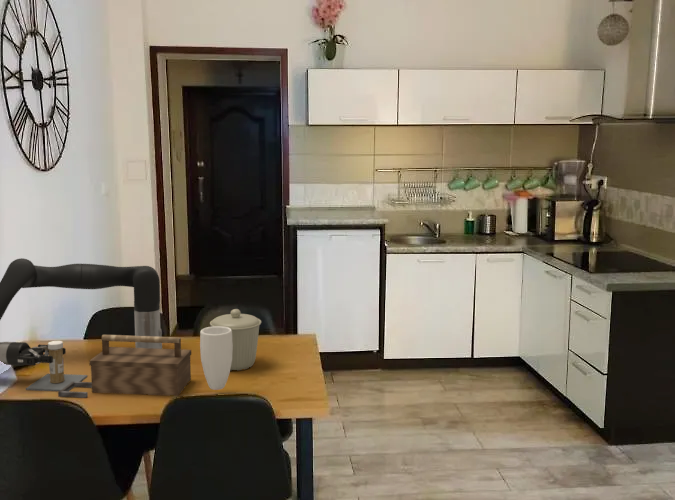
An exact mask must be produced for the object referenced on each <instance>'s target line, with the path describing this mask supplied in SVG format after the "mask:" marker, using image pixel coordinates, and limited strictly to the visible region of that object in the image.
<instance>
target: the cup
mask: <svg viewBox="0 0 675 500" xmlns="http://www.w3.org/2000/svg"><path fill="white" fill-rule="evenodd" d="M199 335H200V337H199V338H200V340H199V347H200V348H199V351H200V361H201V366H202V370H203V371H202V372H203V374H204V378H205V380H206V383H207V385H208V387H209V389H211V390H215V391H218V390H223V389H224V388H225V386H226V384H227V383H228V379H229V375H230V374H231V373H230V372H231V370H230V368H231V363H232V350H233V343H232V330H231V329H230V328H228V327H223V326H213V327H212V326H208V327H207V326H206V327H204V328H201V330H200V333H199Z"/></svg>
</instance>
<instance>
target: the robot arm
mask: <svg viewBox="0 0 675 500" xmlns="http://www.w3.org/2000/svg"><path fill="white" fill-rule="evenodd" d="M160 280H161V279H160V277H159V274H158V272H157V270H156V269H155V268H153V267H152V266H150V265H135V266H114V265H106V264H95V263H71V264H64V265H58V266H41V265H34V263H33V262H32V261H31V260H29V259H27V258H21V257H20V258H17V259H14V260H13V261H11V262H10V263H9V264H8V266H7V268H6V270H5V272H4V275H3V276H2V278H1V280H0V321H1V320H2V318H3V317H4V315H5V312H6V311H7V309H8V307H9V305H10V304H11V303H12V300H13V299H14V297H15V296H16V295H17V294H18V293H19V291H20V290H21V289H27V288H28V289H29V288H47V287H48V288H50V287H51V288H59V289H60V288H63V289H75V290H101V289H108V288H115V287H130V288H133V300H134V301H133V310H134V311H133V313H134V315H133V316H134V336H155V337H163V336H162V334H163V332H162V328H161V307H160V306H161V284H160ZM134 343H135V348H154V349H163V343H149V342H134ZM66 353H67V351H66V348H65V347H63V356H64V355H66ZM0 361H1V362H3V363H4V364H6V366H7V365H8V366H36V365H37V364H38V365H39V364H49V363H52V362H53V357H52V356H49V350H48V344H41V343H40V344H38V345H37V346H33V347H31V346H30V344H29V343H27V342H23V341H22V342H21V341H0Z"/></svg>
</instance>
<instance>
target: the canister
mask: <svg viewBox="0 0 675 500" xmlns="http://www.w3.org/2000/svg"><path fill="white" fill-rule="evenodd" d="M261 324H262V320H261V319H260V318H258V317H256V316H255V315H252V314H247V313H242V312H241V310H240V309H238V308H234V309H231V310H230V313H227V314H222V315H219V316H217V317H215V318H214V319H212V320H211V321H210V322H209V325H210V327H213V326H223V327H228V328H230V329H231V330H232V343H233V350H232V363H231V368H230V371H232V370H237V371H243V370H242V369H244V370H247V369H249V367H250V368H251V367H252V366H253V365H254V364H255V361H256V358H257V351H258V350H257V349H258V343H259V342H258V341H259V330H260V325H261Z"/></svg>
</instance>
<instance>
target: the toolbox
mask: <svg viewBox="0 0 675 500" xmlns="http://www.w3.org/2000/svg"><path fill="white" fill-rule="evenodd" d="M181 340H182V339H181V337H179V336H162V337H155V336H135V335H125V334H123V335H122V334H102V335H101V346H102V347H101V349H102V351H100V352H99V353H98V354H96V355H95V356H94V357H92V358H90V360H89V363H88V364H89V366H90V374H91V375H90V376H91V381H81V382H73V381H72V382H71V383H70V384H68V385H67V386H66V387H64V388H63V389H62V390H60V391H57V394H58V395H57V396H58V397H59V398H78V399H79V398H83V399H86V398H88V391H71V390H70V391H68V390H69V389H70V388H71V387H72V386H74V388H85V389H86V388H87V389H91V392H92V393H101V394H103V393H104V394H122V393H123V394H127V395H146V394H148V395H151V396H154V395H155V396H170V395H174V396H175V397H176V396H177V397H179V395H180V394H181V393H182V392H183V391H184V389H185V388H186V387H187V386H186V385H188V384H189V383H190V382H191V381H190V380H191V379H192V378H191V376H192V374H191V355H192V349H181V348H182V344H181V343H182V342H181ZM110 342H121V343H122V342H126V343H127V342H128V343H135V342H149V343H162V344H174V345H173V346H174V347H173V348H162V349H154V348H136V347H123V346H121V347H120V346H110ZM189 381H190V382H189ZM188 382H189V383H188ZM187 383H188V384H187ZM185 386H186V387H185ZM184 387H185V388H184ZM181 391H182V392H181ZM148 395H147V396H148Z"/></svg>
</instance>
